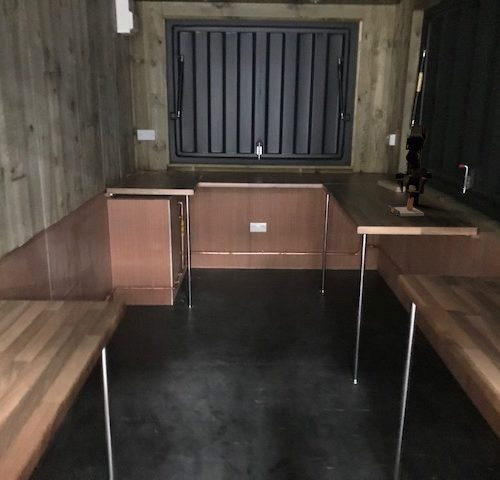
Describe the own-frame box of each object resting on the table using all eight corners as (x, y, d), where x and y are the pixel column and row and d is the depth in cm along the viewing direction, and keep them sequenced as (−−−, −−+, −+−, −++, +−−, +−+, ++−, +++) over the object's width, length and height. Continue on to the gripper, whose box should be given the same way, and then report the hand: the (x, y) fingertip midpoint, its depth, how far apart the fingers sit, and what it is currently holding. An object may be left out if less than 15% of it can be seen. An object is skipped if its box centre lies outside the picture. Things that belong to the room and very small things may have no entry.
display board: (387, 210, 263) (387, 205, 263) (412, 209, 264) (412, 205, 264) (397, 216, 249) (397, 211, 248) (423, 215, 250) (424, 210, 249)
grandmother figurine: (404, 208, 260) (405, 184, 256) (411, 208, 260) (413, 184, 256) (408, 211, 252) (410, 186, 249) (416, 211, 252) (418, 186, 249)
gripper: (400, 163, 241) (398, 195, 245) (438, 162, 242) (435, 195, 246) (392, 160, 252) (390, 191, 256) (429, 160, 253) (426, 191, 257)
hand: (411, 192), depth 254 cm, fingers open, 9 cm apart
